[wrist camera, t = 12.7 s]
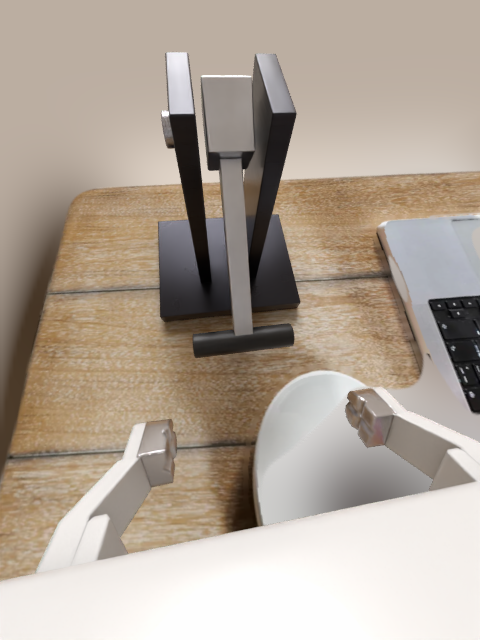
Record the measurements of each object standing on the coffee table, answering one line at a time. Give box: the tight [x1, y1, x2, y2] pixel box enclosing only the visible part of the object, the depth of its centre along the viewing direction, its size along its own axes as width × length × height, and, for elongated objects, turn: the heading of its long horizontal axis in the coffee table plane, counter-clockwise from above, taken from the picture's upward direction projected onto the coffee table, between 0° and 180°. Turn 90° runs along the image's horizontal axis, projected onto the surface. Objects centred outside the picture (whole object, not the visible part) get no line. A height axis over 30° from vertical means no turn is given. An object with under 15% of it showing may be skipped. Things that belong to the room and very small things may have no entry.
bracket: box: [158, 52, 300, 322], centre depth 16 cm, size 10×12×14 cm
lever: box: [193, 76, 294, 358], centre depth 13 cm, size 13×6×2 cm
